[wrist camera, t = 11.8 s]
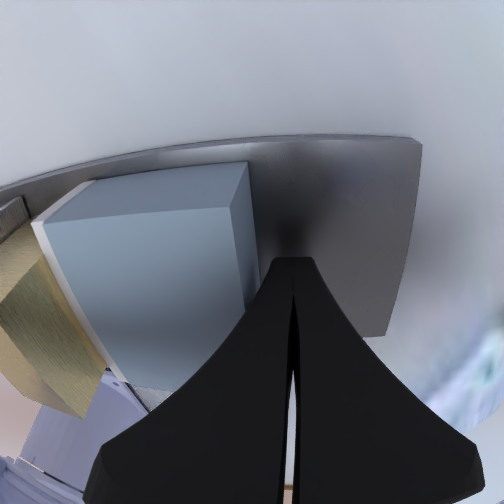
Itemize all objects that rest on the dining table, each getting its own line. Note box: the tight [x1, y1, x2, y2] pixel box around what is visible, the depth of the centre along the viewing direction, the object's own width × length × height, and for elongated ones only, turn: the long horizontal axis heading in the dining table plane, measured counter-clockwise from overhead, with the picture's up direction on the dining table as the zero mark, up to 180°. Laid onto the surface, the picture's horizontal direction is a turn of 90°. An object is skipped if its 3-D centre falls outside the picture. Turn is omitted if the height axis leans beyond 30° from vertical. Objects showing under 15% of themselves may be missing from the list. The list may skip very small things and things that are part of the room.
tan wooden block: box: [0, 215, 107, 420], centre depth 9 cm, size 5×4×6 cm
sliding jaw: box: [31, 161, 261, 392], centre depth 9 cm, size 7×6×3 cm
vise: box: [0, 135, 422, 338], centre depth 10 cm, size 8×18×4 cm, turn 96°
